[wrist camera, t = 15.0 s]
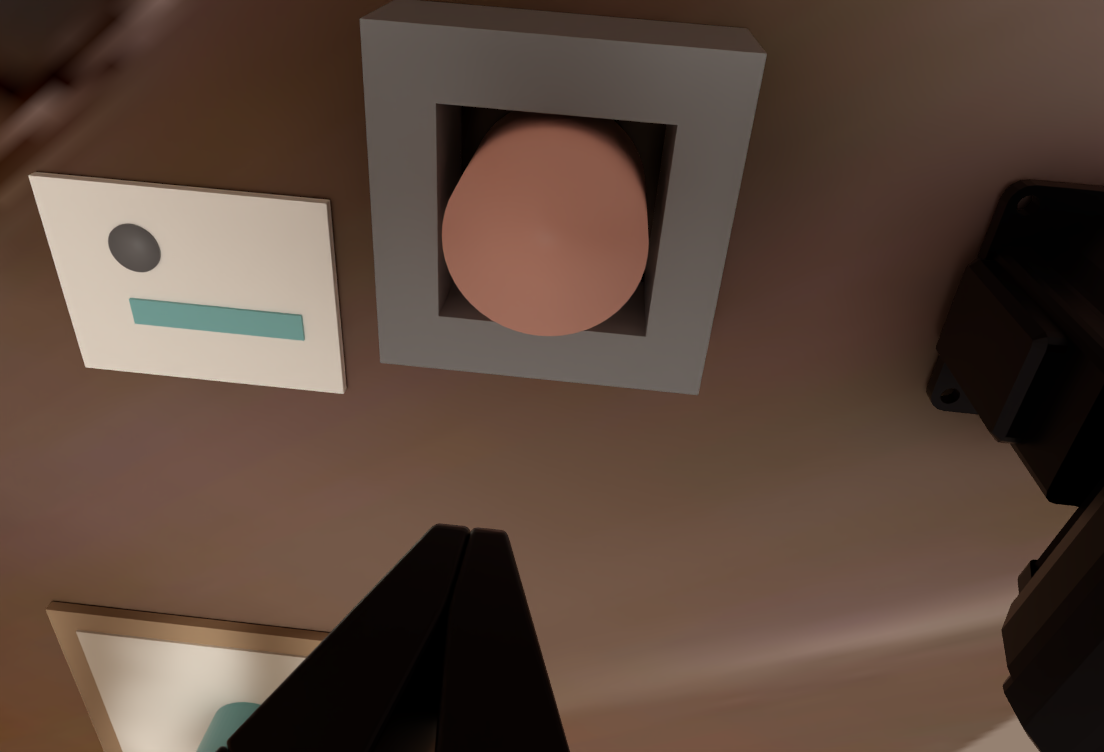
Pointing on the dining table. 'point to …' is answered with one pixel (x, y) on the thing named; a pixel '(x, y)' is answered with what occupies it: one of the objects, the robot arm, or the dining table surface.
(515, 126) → the button
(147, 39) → the dining table surface
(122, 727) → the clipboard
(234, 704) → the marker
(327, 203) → the card
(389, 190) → the button box
